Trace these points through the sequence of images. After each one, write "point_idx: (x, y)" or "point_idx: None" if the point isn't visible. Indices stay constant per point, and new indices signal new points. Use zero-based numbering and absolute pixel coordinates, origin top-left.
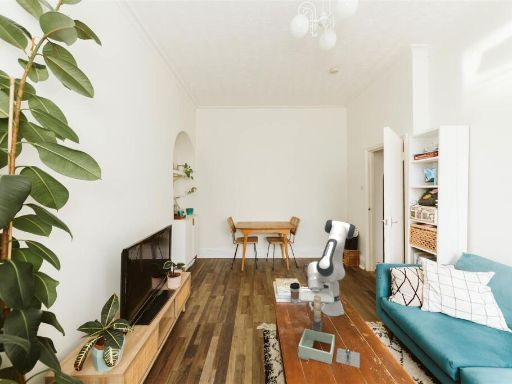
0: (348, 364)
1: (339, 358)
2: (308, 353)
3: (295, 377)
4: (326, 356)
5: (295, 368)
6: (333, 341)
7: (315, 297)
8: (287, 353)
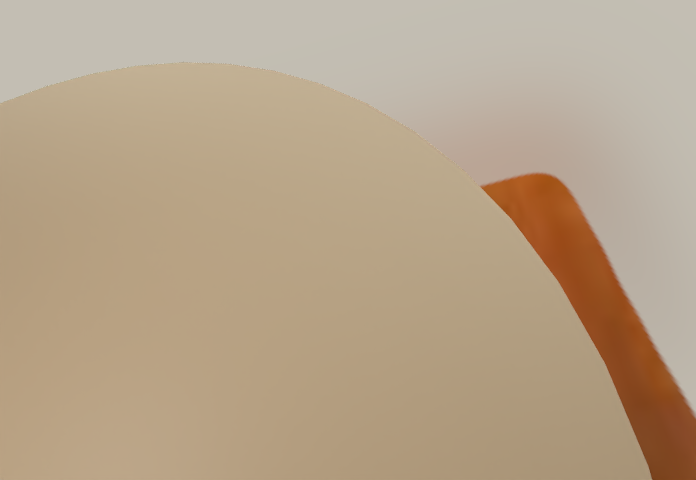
0: None
1: None
2: None
3: (525, 186)
4: None
5: (543, 248)
6: None
7: (326, 223)
8: (653, 381)
